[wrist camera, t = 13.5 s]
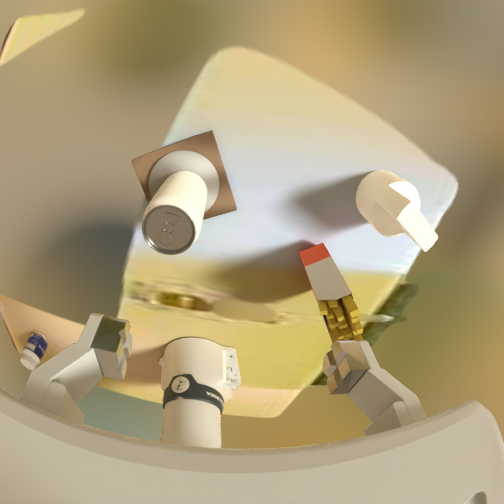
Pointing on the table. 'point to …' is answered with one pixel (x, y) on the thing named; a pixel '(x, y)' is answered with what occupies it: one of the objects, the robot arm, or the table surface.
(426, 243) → the base with upright slab
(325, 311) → the french fries container
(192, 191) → the can
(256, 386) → the table surface
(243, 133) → the table surface
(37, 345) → the pill bottle
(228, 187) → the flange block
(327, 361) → the robot arm
